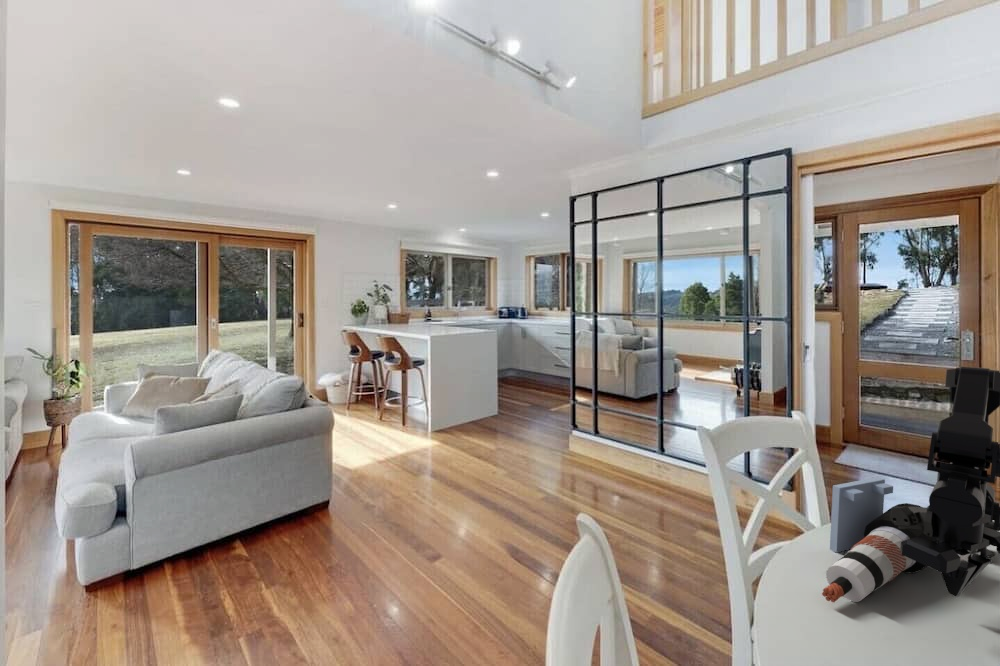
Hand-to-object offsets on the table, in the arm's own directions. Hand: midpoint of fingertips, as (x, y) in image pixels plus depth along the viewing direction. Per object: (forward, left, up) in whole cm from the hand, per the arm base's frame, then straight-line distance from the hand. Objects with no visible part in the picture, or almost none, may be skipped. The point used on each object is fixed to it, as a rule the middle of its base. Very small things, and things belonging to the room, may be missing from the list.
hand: (953, 594), depth 76 cm
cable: (+1, -11, -4) cm, 12 cm away
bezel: (-8, -19, -4) cm, 21 cm away
